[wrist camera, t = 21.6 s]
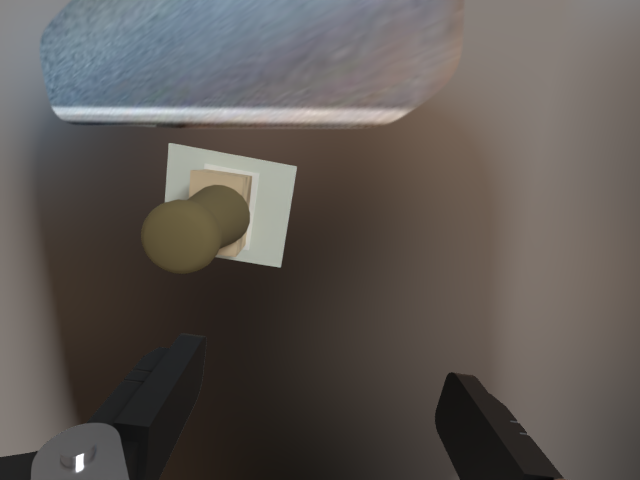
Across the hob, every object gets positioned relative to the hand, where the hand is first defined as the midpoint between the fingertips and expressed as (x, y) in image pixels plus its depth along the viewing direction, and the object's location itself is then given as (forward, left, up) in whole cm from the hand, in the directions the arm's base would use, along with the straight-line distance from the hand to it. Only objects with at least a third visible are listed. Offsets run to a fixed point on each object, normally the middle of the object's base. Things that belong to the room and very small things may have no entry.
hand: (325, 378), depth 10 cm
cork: (0, -10, -22) cm, 24 cm away
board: (0, -10, -28) cm, 30 cm away
